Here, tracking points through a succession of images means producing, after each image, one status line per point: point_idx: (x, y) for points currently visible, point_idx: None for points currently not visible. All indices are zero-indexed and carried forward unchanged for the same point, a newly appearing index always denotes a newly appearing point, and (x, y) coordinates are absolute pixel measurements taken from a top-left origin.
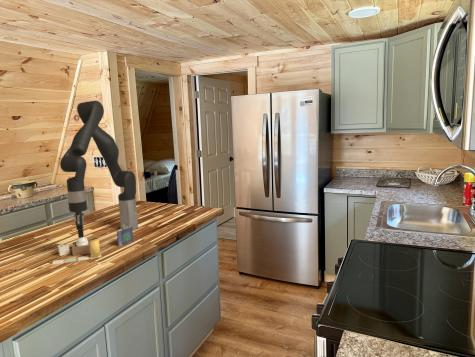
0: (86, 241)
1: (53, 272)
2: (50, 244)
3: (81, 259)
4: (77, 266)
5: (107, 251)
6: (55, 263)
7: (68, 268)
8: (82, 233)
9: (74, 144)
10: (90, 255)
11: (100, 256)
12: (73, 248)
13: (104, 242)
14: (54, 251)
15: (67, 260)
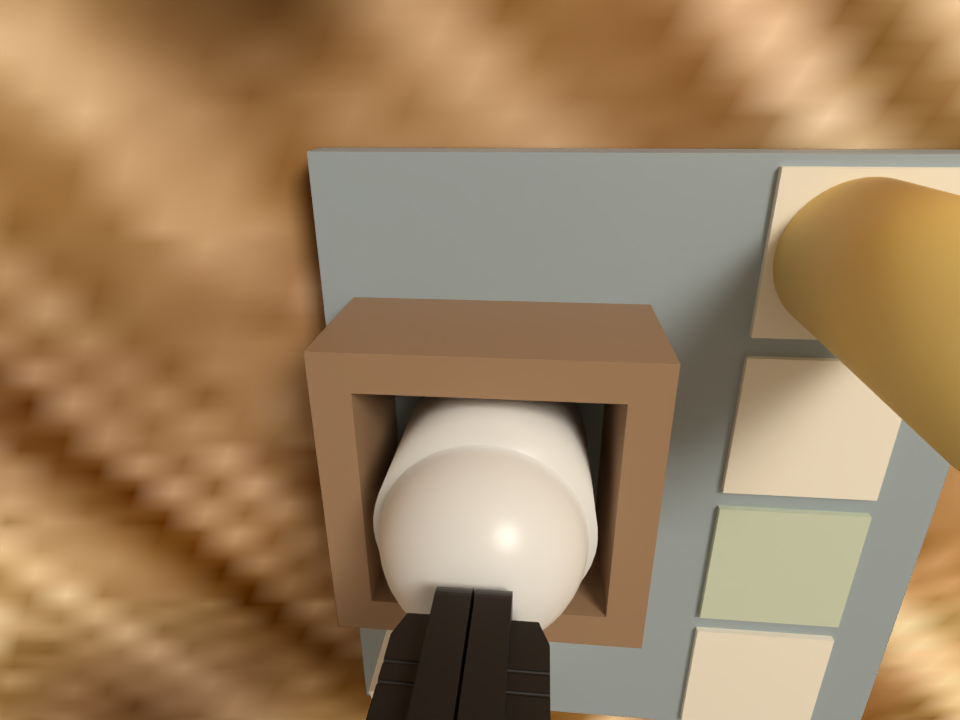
0: (546, 474)
1: (947, 686)
2: (10, 704)
3: (860, 457)
4: (954, 480)
5: (555, 45)
6: (786, 703)
7: (942, 567)
8: (509, 673)
9: None
10: (764, 338)
11: (944, 177)
12: (641, 618)
13: (44, 97)
14: (254, 677)
15: (772, 603)
